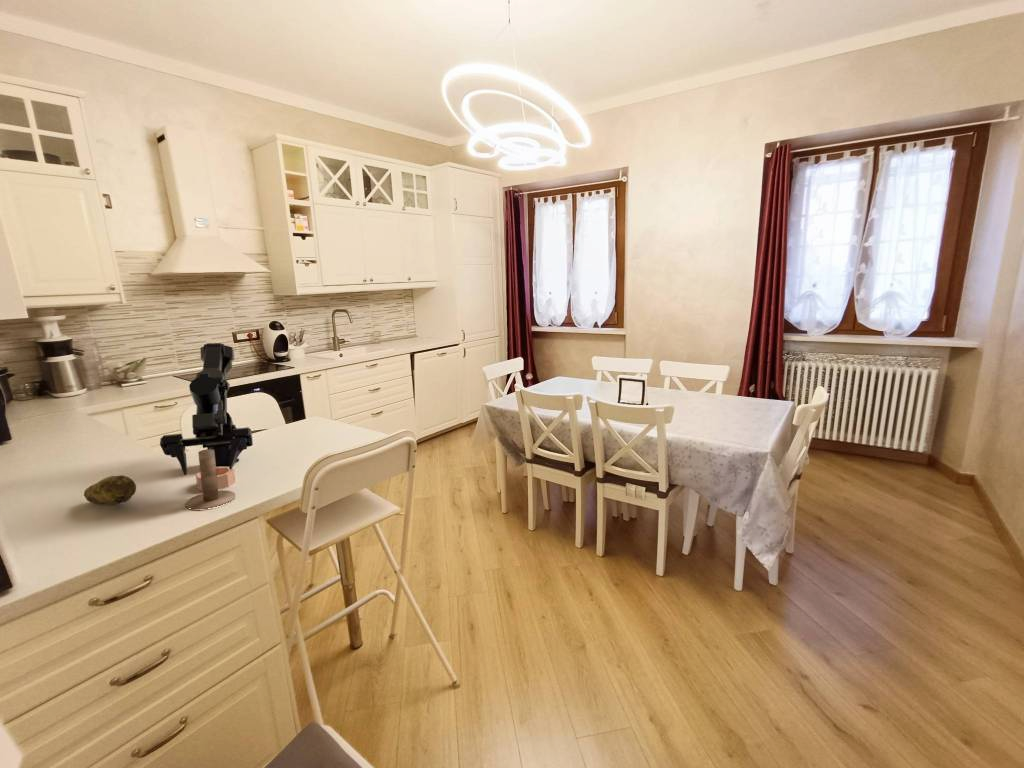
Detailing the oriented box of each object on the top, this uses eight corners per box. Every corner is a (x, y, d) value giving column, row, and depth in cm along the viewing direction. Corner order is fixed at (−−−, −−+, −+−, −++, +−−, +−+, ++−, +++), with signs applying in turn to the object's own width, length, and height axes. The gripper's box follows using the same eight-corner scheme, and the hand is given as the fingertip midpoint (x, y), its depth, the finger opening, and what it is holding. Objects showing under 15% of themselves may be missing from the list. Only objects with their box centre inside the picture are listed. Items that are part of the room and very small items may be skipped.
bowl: (191, 490, 115) (189, 477, 115) (210, 478, 123) (209, 466, 122) (222, 490, 116) (221, 478, 115) (240, 478, 123) (239, 466, 123)
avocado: (128, 492, 113) (124, 462, 112) (142, 508, 105) (137, 476, 104) (83, 503, 107) (78, 472, 105) (94, 520, 99) (89, 486, 97)
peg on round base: (176, 510, 105) (170, 458, 102) (203, 492, 114) (198, 444, 112) (219, 510, 105) (214, 458, 103) (243, 492, 115) (239, 445, 113)
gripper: (157, 402, 106) (151, 461, 98) (248, 396, 114) (249, 450, 106) (167, 426, 114) (163, 483, 106) (252, 419, 122) (253, 471, 115)
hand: (208, 471), depth 108 cm, fingers open, 9 cm apart
